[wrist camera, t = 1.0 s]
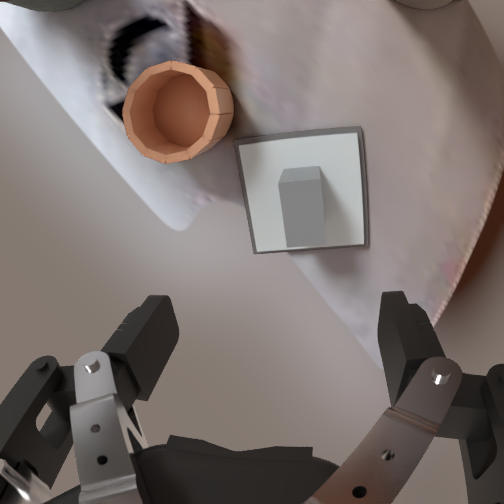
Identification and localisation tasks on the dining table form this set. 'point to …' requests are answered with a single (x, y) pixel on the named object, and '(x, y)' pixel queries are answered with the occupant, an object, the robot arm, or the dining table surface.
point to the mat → (296, 135)
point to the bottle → (45, 4)
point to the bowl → (177, 111)
